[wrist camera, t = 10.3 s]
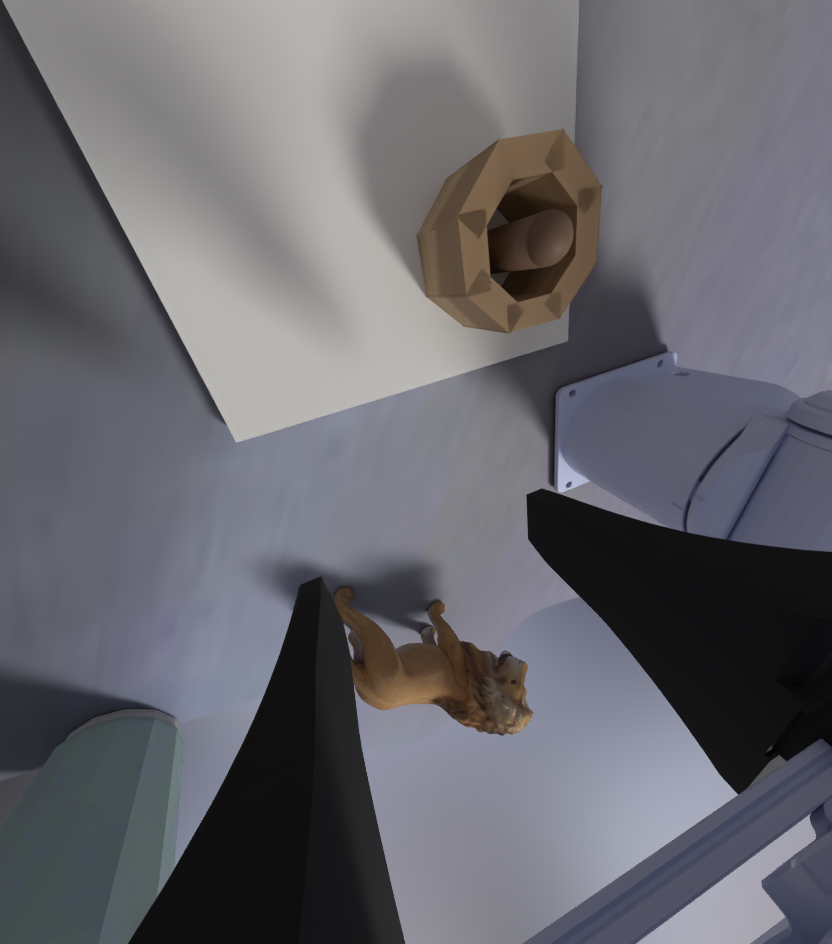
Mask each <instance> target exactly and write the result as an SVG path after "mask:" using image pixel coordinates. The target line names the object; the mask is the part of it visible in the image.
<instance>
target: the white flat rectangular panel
mask: <svg viewBox="0 0 832 944" xmlns="http://www.w3.org/2000/svg"><path fill="white" fill-rule="evenodd" d="M2 1H3V3H4V5H5V7H6V9H7V10H8V12H9V14H10V16H11V18H12V20H13V22H14V24H15V26H16V27H17V29H18V31H19V33H20V35H21V37H22V39H23V41H24V43H25V44H26V46H27V48H28V50H29V52H30V54H31V56H32V58H33V60H34V61H35V63H36V65H37V67H38V69H39V71H40V73H41V75H42V77H43V78H44V80H45V82H46V84H47V86H48V88H49V90H50V92H51V94H52V95H53V97H54V99H55V101H56V103H57V105H58V107H59V109H60V111H61V112H62V114H63V116H64V118H65V120H66V122H67V124H68V126H69V128H70V129H71V131H72V133H73V135H74V137H75V139H76V141H77V143H78V145H79V146H80V148H81V150H82V152H83V154H84V156H85V158H86V160H87V162H88V163H89V165H90V167H91V169H92V171H93V173H94V175H95V177H96V179H97V180H98V182H99V184H100V186H101V188H102V190H103V192H104V194H105V196H106V197H107V199H108V201H109V203H110V205H111V207H112V209H113V211H114V213H115V214H116V216H117V218H118V220H119V222H120V224H121V226H122V228H123V230H124V231H125V233H126V235H127V237H128V239H129V241H130V243H131V245H132V247H133V248H134V250H135V252H136V254H137V256H138V258H139V260H140V262H141V264H142V265H143V267H144V269H145V271H146V273H147V275H148V277H149V279H150V281H151V282H152V284H153V286H154V288H155V290H156V292H157V294H158V296H159V298H160V299H161V301H162V303H163V305H164V307H165V309H166V311H167V313H168V315H169V316H170V318H171V320H172V322H173V324H174V326H175V328H176V330H177V332H178V333H179V335H180V337H181V339H182V341H183V343H184V345H185V347H186V349H187V350H188V352H189V354H190V356H191V358H192V360H193V362H194V364H195V366H196V367H197V369H198V371H199V373H200V375H201V377H202V379H203V381H204V383H205V384H206V386H207V388H208V390H209V392H210V394H211V396H212V398H213V400H214V401H215V403H216V405H217V407H218V409H219V411H220V413H221V415H222V417H223V418H224V420H225V422H226V424H227V426H228V428H229V430H230V432H231V433H232V435H233V437H234V439H235V441H236V443H237V442H241V441H244V440H247V439H250V438H254V437H257V436H260V435H263V434H267V433H270V432H273V431H276V430H280V429H283V428H286V427H290V426H293V425H296V424H299V423H303V422H306V421H309V420H312V419H316V418H319V417H322V416H325V415H329V414H332V413H335V412H339V411H342V410H345V409H348V408H352V407H355V406H358V405H361V404H365V403H368V402H371V401H374V400H378V399H381V398H384V397H388V396H391V395H394V394H397V393H401V392H404V391H407V390H410V389H414V388H417V387H420V386H423V385H427V384H430V383H433V382H437V381H440V380H443V379H446V378H450V377H453V376H456V375H459V374H463V373H466V372H469V371H472V370H476V369H479V368H482V367H486V366H489V365H492V364H495V363H499V362H502V361H505V360H508V359H512V358H515V357H518V356H521V355H525V354H528V353H531V352H535V351H538V350H541V349H544V348H548V347H551V346H554V345H557V344H561V343H564V342H567V341H568V330H569V305H568V307H567V308H566V310H565V312H564V313H563V315H562V316H561V318H560V319H557V320H553V321H550V322H546V323H543V324H539V325H536V326H533V327H529V328H526V329H522V330H519V331H515V332H512V333H510V334H508V333H502V332H495V331H489V330H482V329H476V328H469V327H463V325H461V324H460V323H459V322H457V321H456V320H455V319H454V318H452V317H451V316H450V315H449V314H447V313H446V312H445V311H444V310H442V309H441V308H440V307H439V306H437V305H436V304H435V303H434V302H432V301H431V300H430V299H429V298H427V297H426V291H425V284H424V278H423V272H422V266H421V260H420V254H419V248H418V241H417V237H416V236H417V234H418V232H419V230H420V228H421V226H422V225H423V223H424V221H425V219H426V217H427V215H428V213H429V211H430V209H431V207H432V205H433V204H434V202H435V200H436V198H437V196H438V194H439V192H440V190H441V188H442V186H443V184H444V183H445V179H446V178H448V177H449V176H450V175H452V174H453V173H454V172H456V171H457V170H458V169H460V168H461V167H462V166H464V165H465V164H466V163H468V162H469V161H470V160H472V159H473V158H474V157H476V156H477V155H478V154H480V153H481V152H482V151H484V150H485V149H486V148H488V147H489V146H490V145H492V144H493V143H494V142H495V141H497V140H498V139H499V138H500V139H505V138H511V137H517V136H524V135H530V134H536V133H542V132H548V131H554V130H560V129H562V128H563V129H565V132H566V133H567V135H568V136H569V138H570V139H571V141H572V142H573V144H574V145H575V116H576V86H577V55H578V24H579V0H2ZM508 223H509V222H508V221H507V220H506V219H505V218H504V217H503V216H502V214H501V213H500V212H499V211H498V210H497V209H496V210H495V212H494V214H493V215H492V217H491V219H490V221H489V222H488V224H487V230H490V229H493V228H496V227H499V226H502V225H505V224H508ZM509 273H510V272H503V273H495V274H490V277H491V278H492V279H493V280H494V281H495V282H496V283H498V284H499V285H500V286H502V284H503V283H504V281H505V279H506V278H507V276H508V274H509Z"/></svg>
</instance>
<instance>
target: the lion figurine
mask: <svg viewBox="0 0 832 944" xmlns="http://www.w3.org/2000/svg"><path fill="white" fill-rule="evenodd" d="M353 599H354V596H353V591H352V590H351V589H350V588H347V587H344V588H341V589H339V590H338V591H337V592H336V594H335V597H334V603H335V605H336V607H337V609H338V611H339V614H340V616H341V618H342V621H343V622H345V623H347V624H348V625H349V626H350V627H351V628H352V629H351V631H350V633H349V635H348V639H349V642H350V643H351V645H352V646H353V649H354V659H352V657H351V655H350V659H351V667H352V675H353V683H354V685H355V688H356V691H357V693H358V695H359V696H360V698H361V699H362V700H363V701H365V702H366V703H367V704H369V705H371V706H373V707H375V708H377V709H380V710H388V709H392V708H395V707H398V706H402V705H407V704H418V703H420V704H435V705H438V706H440V707H441V708H443V709H444V710H445V711H446V712H447V713H448V714H449V715H450V716H451V717H452V718H453V719H455V720H457V721H458V722H459V723H461V724H463V725H464V726H466V727H473V728H476V729H477V731H478V732H487V733H489V734H499V735H501V736H502V735H504V734H515V733H517V732H520V730H522V729H524V728H525V727H526V725H527V723H528V722H529V721H530V720H531V718H532V716H531V715H532V714H533V712H532V711H531V710H530V709H529V707H528V704H527V701H526V698H525V696H526V694H527V692H526V689H525V687H524V681H525V675H526V672H527V669H528V665H527V664H526V662H524V661H521V660H519V659H517V658H516V657H513V656H512V655H511V653H510V652H508V651H506V650H505V651H503V652H502V653H501V654H500V656H499V658H498V657H497V656H496V655H494V654H493V653H492V652H490V651H488V652H487V651H480V650H479V649H477V648H476V646H475V645H474V644H473V643H469V642H464V641H461V642H460V641H459V639H458V637H457V636H456V634H455V633H454V631H453V630H452V628H451V627H450V626H449V625H448V624H447V623H446V622H445V621H444V620H443V618H442V617H441V616H440V615H441V614H442V613H443V612H444V611H445V605H444V604H443V603H442V602H441V601H438V602H435V603H434V604H432V605H431V606H430V608H429V610H428V616H429V618H430V620H431V622H432V624H433V625H434V627H435V628H434V627H433V626H427V627H425V628H424V629H423V630H422V631H421V638H422V641H423V643H409V644H405V645H402V646H400V647H398V648H397V649H395V647H394V645H393V643H392V642H391V640H390V638H389V637H388V636H387V635H386V633H385V632H384V631H383V630H382V629H381V628H380V627H379V626H378V625H377V624H376V623H375V622H374V621H372V620H371V619H369V618H368V617H366V616H364V615H363V614H361V613H360V612H358V611H357V610H355V609H354V608H352V607H351V606H350V605H349V604H348V603H350V602H352V601H353ZM436 631H437V633H438V638H437V641H438V646H437V644H436V642H435V640H434V635H435V633H436Z"/></svg>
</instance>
